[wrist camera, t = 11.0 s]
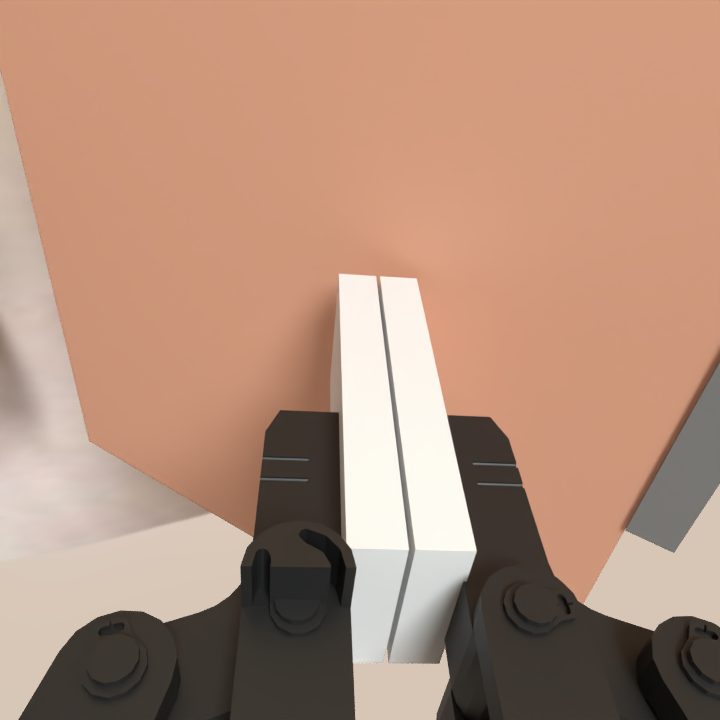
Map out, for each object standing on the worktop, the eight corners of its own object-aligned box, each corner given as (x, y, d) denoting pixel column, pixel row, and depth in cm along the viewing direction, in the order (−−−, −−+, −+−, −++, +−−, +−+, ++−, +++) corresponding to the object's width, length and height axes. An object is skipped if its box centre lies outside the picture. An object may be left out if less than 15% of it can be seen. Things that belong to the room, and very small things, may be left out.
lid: (107, 427, 25) (86, 442, 25) (-71, -419, 12) (-127, -441, 11) (571, 691, 19) (562, 721, 18) (1362, -549, 5) (1449, -623, 5)
